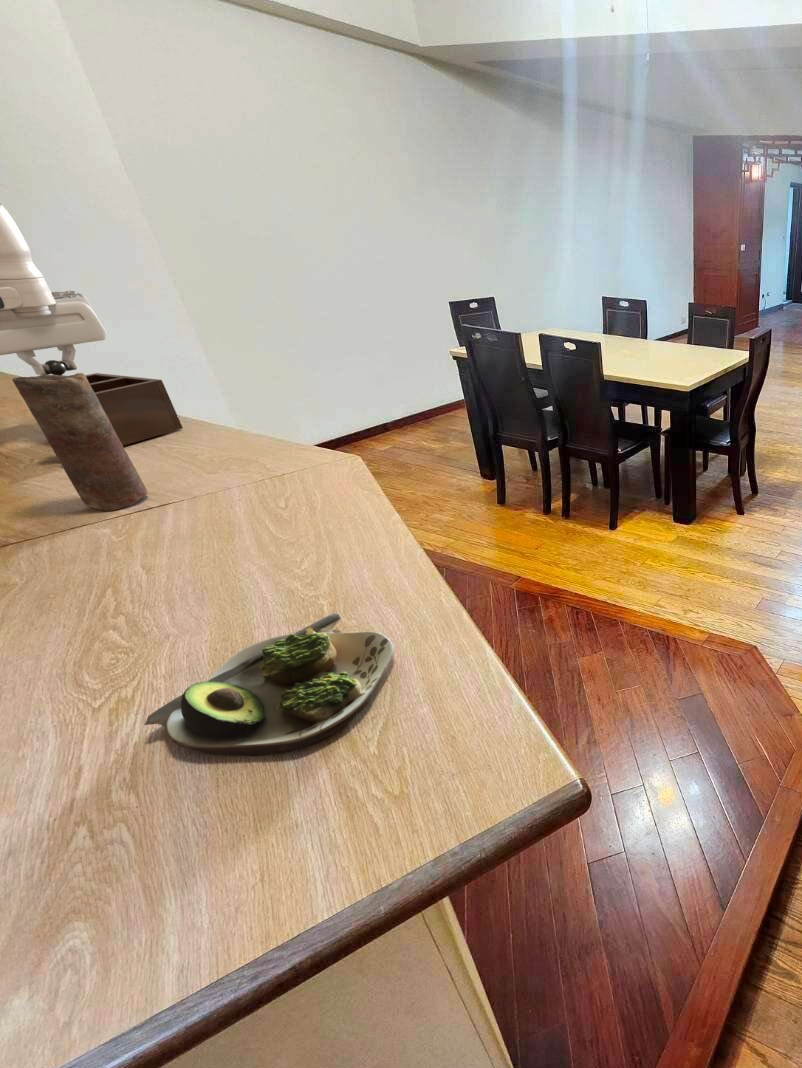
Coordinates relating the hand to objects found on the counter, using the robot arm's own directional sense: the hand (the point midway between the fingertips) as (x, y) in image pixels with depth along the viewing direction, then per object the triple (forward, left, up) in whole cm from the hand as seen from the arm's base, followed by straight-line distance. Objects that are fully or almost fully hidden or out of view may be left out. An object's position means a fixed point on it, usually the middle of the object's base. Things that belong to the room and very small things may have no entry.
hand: (57, 372), depth 114 cm
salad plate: (+101, -54, -12) cm, 115 cm away
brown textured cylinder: (+39, -24, -12) cm, 48 cm away
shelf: (+7, 0, -12) cm, 13 cm away
